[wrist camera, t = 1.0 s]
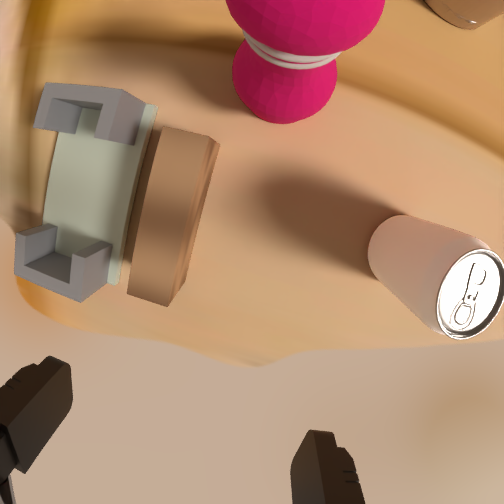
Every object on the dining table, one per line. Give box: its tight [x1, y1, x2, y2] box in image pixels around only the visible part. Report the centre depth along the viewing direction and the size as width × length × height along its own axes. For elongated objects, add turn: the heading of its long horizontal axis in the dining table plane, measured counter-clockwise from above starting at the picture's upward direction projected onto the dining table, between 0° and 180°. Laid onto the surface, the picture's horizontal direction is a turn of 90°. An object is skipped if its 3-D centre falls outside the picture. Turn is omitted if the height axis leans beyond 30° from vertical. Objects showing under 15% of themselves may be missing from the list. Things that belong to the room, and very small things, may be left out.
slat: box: [127, 126, 220, 307], centre depth 24 cm, size 12×3×6 cm, turn 164°
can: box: [368, 215, 504, 340], centre depth 21 cm, size 6×6×12 cm
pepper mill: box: [226, 0, 385, 124], centre depth 14 cm, size 7×7×20 cm
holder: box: [14, 83, 158, 303], centre depth 23 cm, size 16×9×6 cm, turn 164°
